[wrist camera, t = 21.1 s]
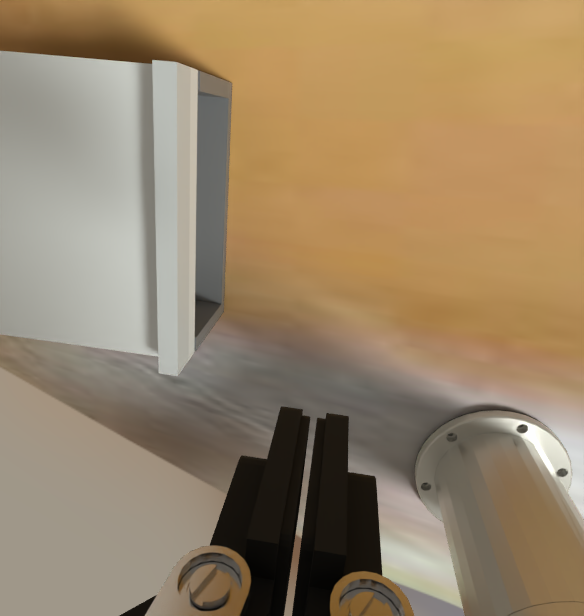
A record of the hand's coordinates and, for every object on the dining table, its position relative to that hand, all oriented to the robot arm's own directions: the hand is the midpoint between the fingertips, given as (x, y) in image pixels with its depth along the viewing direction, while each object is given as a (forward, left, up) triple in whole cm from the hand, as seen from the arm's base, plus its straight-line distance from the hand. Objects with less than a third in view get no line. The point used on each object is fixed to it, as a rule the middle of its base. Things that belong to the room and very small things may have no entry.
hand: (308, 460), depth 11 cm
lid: (+13, +9, -18) cm, 24 cm away
